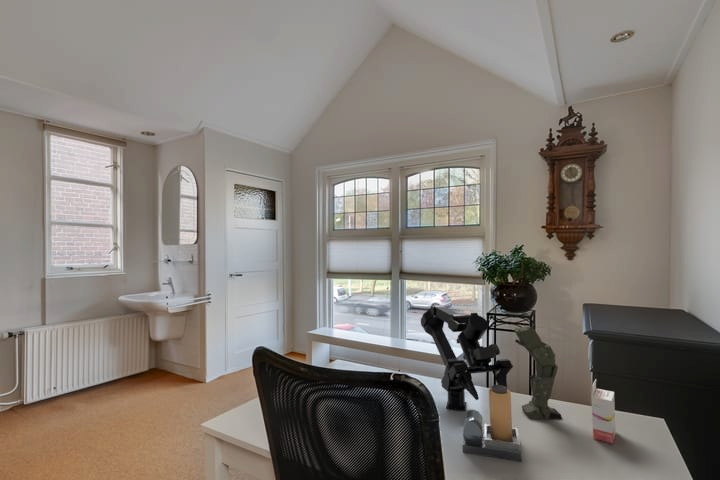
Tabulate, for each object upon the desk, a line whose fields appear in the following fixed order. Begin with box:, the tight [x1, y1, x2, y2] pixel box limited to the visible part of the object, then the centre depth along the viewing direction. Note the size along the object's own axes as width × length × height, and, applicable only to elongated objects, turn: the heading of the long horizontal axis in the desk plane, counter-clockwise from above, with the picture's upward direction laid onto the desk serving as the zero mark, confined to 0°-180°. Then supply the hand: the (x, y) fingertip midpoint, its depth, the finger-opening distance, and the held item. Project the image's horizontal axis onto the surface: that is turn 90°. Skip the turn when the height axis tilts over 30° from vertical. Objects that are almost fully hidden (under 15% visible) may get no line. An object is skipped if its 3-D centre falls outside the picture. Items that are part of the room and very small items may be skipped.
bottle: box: [488, 384, 513, 442], centre depth 97 cm, size 6×6×14 cm
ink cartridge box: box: [591, 378, 617, 444], centre depth 102 cm, size 9×5×15 cm, turn 141°
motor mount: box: [462, 409, 522, 463], centre depth 98 cm, size 12×14×7 cm
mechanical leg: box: [513, 325, 563, 420], centre depth 116 cm, size 14×7×30 cm, turn 85°
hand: (492, 397), depth 101 cm, fingers open, 9 cm apart
